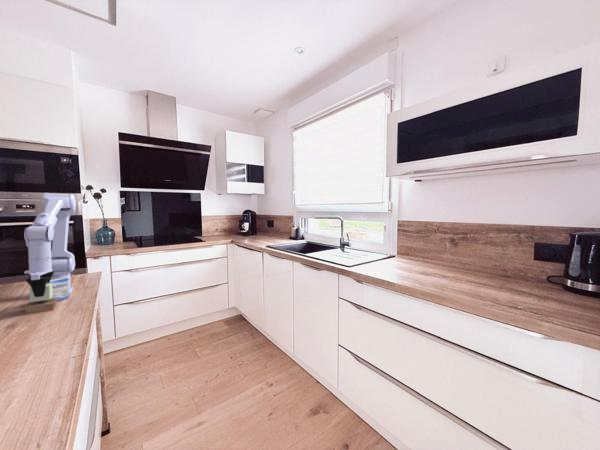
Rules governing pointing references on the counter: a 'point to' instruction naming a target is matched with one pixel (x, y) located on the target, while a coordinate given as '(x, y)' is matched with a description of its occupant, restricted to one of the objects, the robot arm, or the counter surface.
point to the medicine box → (60, 288)
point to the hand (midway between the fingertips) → (41, 294)
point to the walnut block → (40, 306)
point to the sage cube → (47, 294)
